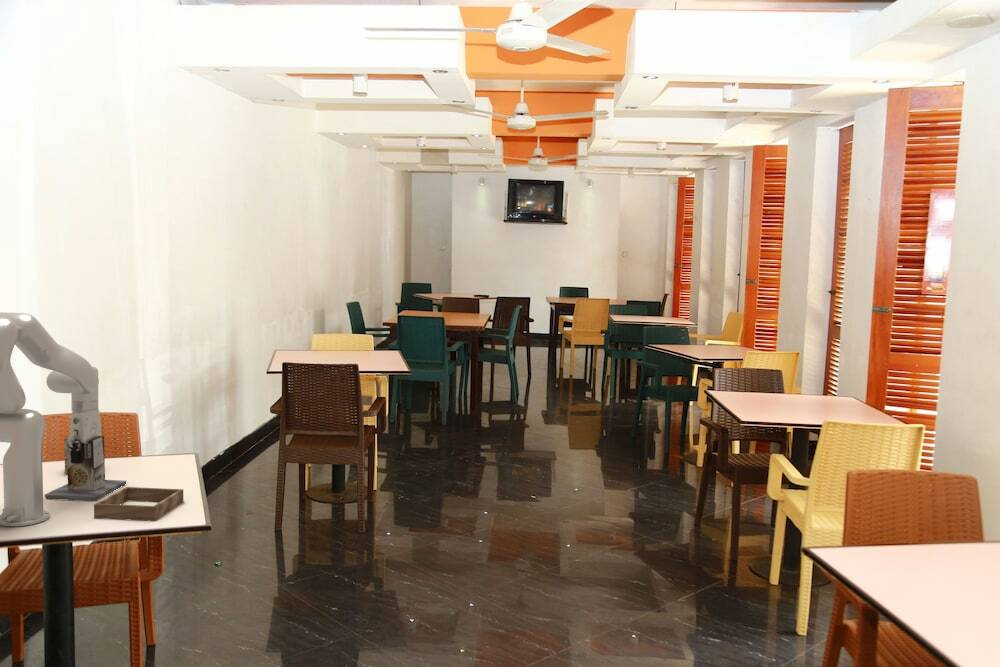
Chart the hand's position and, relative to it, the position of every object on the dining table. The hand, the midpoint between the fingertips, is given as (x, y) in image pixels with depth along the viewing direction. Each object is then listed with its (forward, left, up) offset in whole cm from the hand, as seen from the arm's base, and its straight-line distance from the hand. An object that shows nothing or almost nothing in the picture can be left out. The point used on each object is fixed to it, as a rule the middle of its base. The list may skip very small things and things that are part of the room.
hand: (85, 459), depth 254 cm
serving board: (+1, 0, -11) cm, 11 cm away
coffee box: (0, 0, -9) cm, 9 cm away
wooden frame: (-14, -25, -11) cm, 31 cm away
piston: (+23, +14, -11) cm, 29 cm away
